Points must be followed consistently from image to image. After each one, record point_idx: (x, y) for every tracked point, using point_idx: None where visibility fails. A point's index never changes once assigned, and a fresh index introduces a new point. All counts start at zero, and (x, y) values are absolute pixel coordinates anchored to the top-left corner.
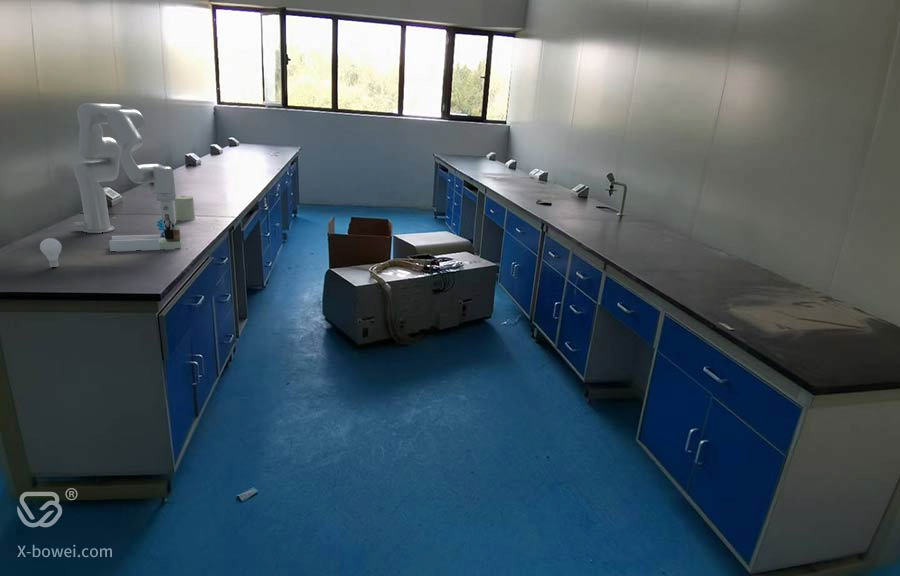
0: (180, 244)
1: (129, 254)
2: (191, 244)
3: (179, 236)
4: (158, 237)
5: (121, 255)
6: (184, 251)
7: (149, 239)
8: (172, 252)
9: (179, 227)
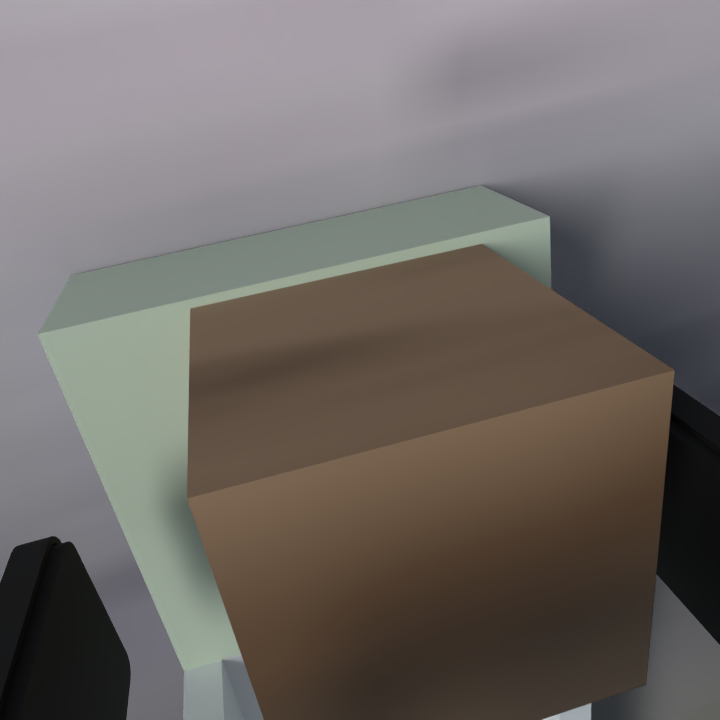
0: (523, 208)
1: (658, 672)
2: (82, 46)
3: (543, 284)
4: (230, 700)
5: (678, 709)
6: (671, 76)
7: (578, 713)
8: (687, 266)
9: (220, 488)
